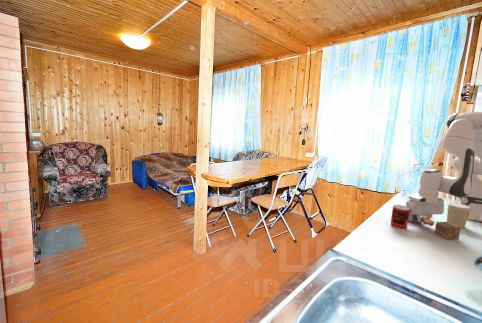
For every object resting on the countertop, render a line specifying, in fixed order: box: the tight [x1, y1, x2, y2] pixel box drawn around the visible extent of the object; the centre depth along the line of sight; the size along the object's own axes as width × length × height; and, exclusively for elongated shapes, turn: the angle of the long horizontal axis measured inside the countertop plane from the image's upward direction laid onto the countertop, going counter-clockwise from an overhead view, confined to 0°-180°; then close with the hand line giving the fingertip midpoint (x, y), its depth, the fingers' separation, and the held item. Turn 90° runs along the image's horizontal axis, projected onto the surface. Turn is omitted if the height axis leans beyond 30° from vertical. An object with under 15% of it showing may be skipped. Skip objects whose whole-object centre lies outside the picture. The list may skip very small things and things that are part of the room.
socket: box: [434, 221, 462, 241], centre depth 116 cm, size 7×6×7 cm
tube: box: [414, 214, 435, 227], centre depth 132 cm, size 4×16×4 cm, turn 6°
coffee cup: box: [446, 202, 470, 229], centre depth 131 cm, size 9×9×12 cm
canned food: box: [390, 204, 410, 230], centre depth 127 cm, size 8×8×11 cm
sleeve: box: [408, 213, 424, 224], centre depth 136 cm, size 7×6×6 cm
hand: (423, 221), depth 129 cm, fingers closed on tube, 3 cm apart
